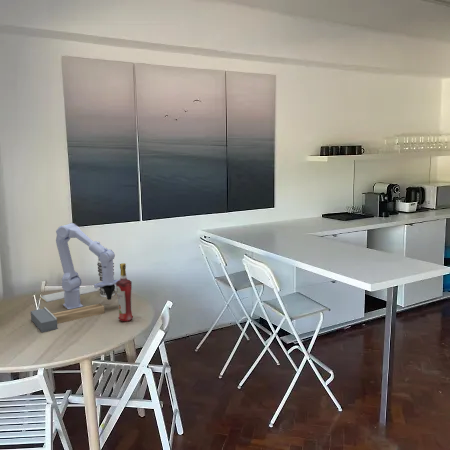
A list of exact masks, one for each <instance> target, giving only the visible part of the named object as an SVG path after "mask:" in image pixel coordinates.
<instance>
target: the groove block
mask: <svg viewBox="0 0 450 450" xmlns="http://www.w3.org/2000/svg"><path fill="white" fill-rule="evenodd" d="M30 319H31V321H32V322H33V324H34V325H35V326H36V327H37V329H38V330H39V331H40V332H41V333H46V332H50V331H54V330H58V324H57V318H56V317H55V316H54V315H53V314H52V312H51V311H50V310H49V309H48V308H47V307H46V306H44V307H43V308H40V309H34V310H30Z"/></svg>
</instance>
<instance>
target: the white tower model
mask: <svg viewBox="0 0 450 450" xmlns="http://www.w3.org/2000/svg"><path fill="white" fill-rule="evenodd" d="M97 258H98V259H97V260H98V261H97V272H98V277H99V283H100V282H103V280H102V265H101V262H100V260H99V257H98V256H97ZM114 267H115V263H114V262H113V271H114V270H115V269H114ZM114 286H115V287H116V284H115V285H114ZM98 290H99V296H100V297H101V298H107V296H106V293H105V291H104V289H103V288H102V287H99V288H98ZM113 295H114V296H115V295H116V288H115V289H114V291H113V293H112V297H113Z"/></svg>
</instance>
